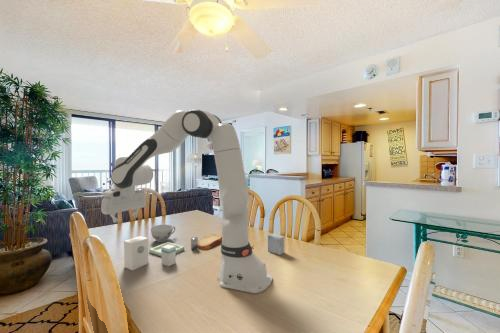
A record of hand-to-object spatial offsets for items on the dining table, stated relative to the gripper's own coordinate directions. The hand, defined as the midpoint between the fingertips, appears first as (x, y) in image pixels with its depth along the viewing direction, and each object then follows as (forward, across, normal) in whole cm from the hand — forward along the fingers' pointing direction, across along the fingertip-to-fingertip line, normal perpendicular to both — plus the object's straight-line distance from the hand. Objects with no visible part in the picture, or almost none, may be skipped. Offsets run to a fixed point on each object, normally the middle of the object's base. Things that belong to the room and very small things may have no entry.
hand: (125, 219), depth 111 cm
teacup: (+20, -29, -9) cm, 37 cm away
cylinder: (+20, -28, +17) cm, 39 cm away
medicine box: (+20, -47, +57) cm, 77 cm away
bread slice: (+20, -40, +20) cm, 49 cm away
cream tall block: (+20, 0, +8) cm, 22 cm away
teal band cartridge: (+20, -9, +19) cm, 29 cm away
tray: (+20, -18, +7) cm, 28 cm away
